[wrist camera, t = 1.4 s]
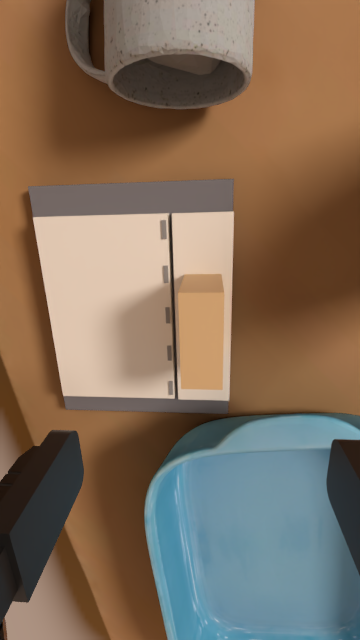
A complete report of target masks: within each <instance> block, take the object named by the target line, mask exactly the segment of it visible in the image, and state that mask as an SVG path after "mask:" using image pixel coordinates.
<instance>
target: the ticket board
mask: <svg viewBox="0 0 360 640" xmlns="http://www.w3.org/2000/svg"><path fill="white" fill-rule="evenodd" d="M233 185H234V179H218V180H191V181H164V182H137V183H110V184H83V185H56V186H29V187H28V189H29V195H30V201H31V207H32V213H33V222H34V227H35V233H36V239H37V245H38V251H39V257H40V263H41V269H42V275H43V280H44V286H45V292H46V298H47V304H48V310H49V316H50V322H51V328H52V333H53V339H54V345H55V351H56V357H57V363H58V369H59V375H60V381H61V386H62V392H63V396H64V402H65V408H66V409H70V410H106V411H142V412H178V413H213V414H228V401H222V400H181V399H178V378H177V350H176V321H175V293H174V264H173V236H172V213H194V212H229V211H233Z"/></svg>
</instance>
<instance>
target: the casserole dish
mask: <svg viewBox="0 0 360 640" xmlns="http://www.w3.org/2000/svg"><path fill="white" fill-rule="evenodd" d="M334 439H346V440H360V416H357V415H351V414H343V413H303V414H302V413H297V414H277V415H253V416H241V417H232V418H225V419H219V420H214V421H211V422H207V423H204V424H202V425H200V426H197V427H196V428H194V429H192V430H191V431H189V432H188V433H186V434H185V435H184V436H183V437H182V438H181V439H180V440H179V441H178V442H177V443H176V444H175V445H174V447H173V448H172V450H171V451H170V452H169V454H168V455H167V457H166V459H165V460H164V462H163V463H162V465H161V466H160V468H159V469H158V471H157V472H156V473H155V475H154V476H153V478H152V480H151V482H150V485H149V488H148V491H147V494H146V499H145V508H144V520H145V532H146V538H147V545H148V550H149V555H150V560H151V565H152V570H153V575H154V579H155V584H156V588H157V593H158V598H159V602H160V607H161V612H162V616H163V621H164V626H165V630H166V635H167V639H168V640H360V575H359V573H358V570H357V568H356V565H355V563H354V561H353V558H352V556H351V553H350V551H349V548H348V546H347V543H346V541H345V538H344V536H343V533H342V531H341V528H340V526H339V523H338V521H337V518H336V516H335V513H334V511H333V509H332V506H331V504H330V501H329V498H328V493H327V486H326V478H327V471H328V464H329V457H330V451H331V444H332V441H333V440H334Z"/></svg>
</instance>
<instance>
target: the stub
mask: <svg viewBox="0 0 360 640" xmlns="http://www.w3.org/2000/svg"><path fill="white" fill-rule="evenodd" d="M233 232H234V212H233V211H229V212H194V213H172V236H173V264H174V293H175V321H176V350H177V378H178V399H181V400H222V401H229V392H230V352H231V312H232V272H233Z"/></svg>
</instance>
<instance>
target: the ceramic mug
mask: <svg viewBox="0 0 360 640" xmlns="http://www.w3.org/2000/svg"><path fill="white" fill-rule="evenodd" d="M90 3H91V0H67V2H66V12H65V29H66V38H67V43H68V47H69V51H70V53H71V56H72V57H73V59H74V60H75V62H76V63H77V64H78V66H79V67H80V68H81V69H82V70H83V71H84V72H85V73H87V74H88V75H90V76H92V77H93V78H95V79H97V80H99V81H101V82H103V83H106V84H108V86H109V88H110V89H111V90H112V91H113V92H115V93H116V94H117V95H119V96H120V97H122V98H124V99H126V100H128V101H131V102H134V103H137V104H140V105H145V106H149V107H155V108H171V109H193V108H202V107H209V106H213V105H218V104H221V103H224V102H227V101H230V100H232V99H234V98H235V97H237V96H238V95H240V94H241V93H242V92H243V91H244V90H245V89H246V88H247V87H248V85H249V83H250V80H251V76H252V64H253V31H254V4H255V0H104V40H105V41H104V60H105V71H102V70H98V69H96V68H95V67H94V66H93V64H92V62H91V57H90V54H89V38H88V35H89V14H90Z"/></svg>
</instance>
